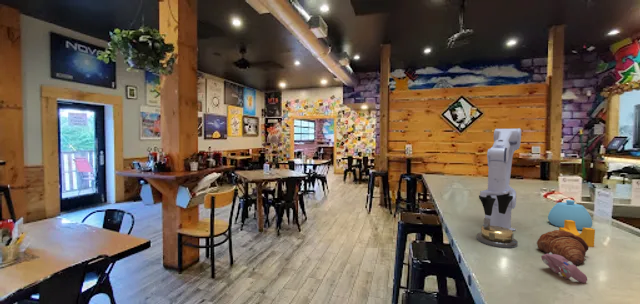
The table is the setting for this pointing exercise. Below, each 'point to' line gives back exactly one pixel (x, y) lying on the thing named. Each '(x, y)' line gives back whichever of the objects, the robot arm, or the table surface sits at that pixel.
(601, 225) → the table surface
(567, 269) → the video game controller
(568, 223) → the pipe clamp
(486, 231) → the round lid with handle
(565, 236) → the pastry
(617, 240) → the table surface
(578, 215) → the sugar bowl
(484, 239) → the base plate
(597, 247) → the table surface
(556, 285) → the table surface
